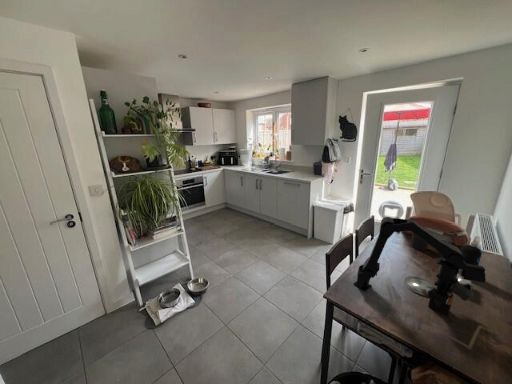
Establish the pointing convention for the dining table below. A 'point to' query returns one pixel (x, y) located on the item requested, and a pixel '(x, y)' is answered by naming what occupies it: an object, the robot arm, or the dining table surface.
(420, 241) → the pen holder
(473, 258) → the aerosol can
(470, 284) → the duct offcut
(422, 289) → the flange plate
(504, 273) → the dining table surface
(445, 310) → the battery
